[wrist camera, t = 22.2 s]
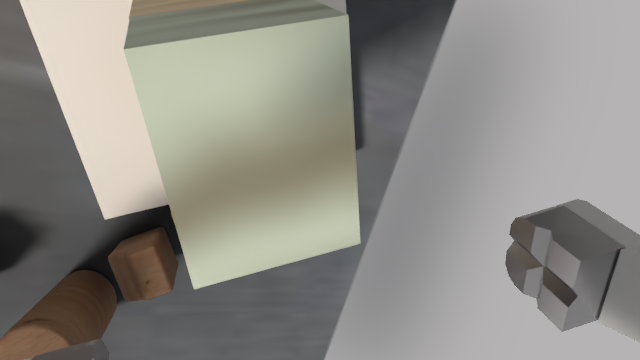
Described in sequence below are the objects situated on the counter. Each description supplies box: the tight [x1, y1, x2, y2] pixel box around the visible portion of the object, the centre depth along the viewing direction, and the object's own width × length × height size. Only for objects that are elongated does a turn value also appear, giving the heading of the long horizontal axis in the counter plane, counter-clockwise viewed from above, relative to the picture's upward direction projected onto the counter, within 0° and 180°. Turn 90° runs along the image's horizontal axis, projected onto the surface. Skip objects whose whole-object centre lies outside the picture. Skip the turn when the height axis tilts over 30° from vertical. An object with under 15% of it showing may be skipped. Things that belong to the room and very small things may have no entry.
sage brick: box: [124, 0, 360, 289], centre depth 16 cm, size 8×6×5 cm
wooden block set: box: [0, 213, 178, 360], centre depth 27 cm, size 18×9×10 cm, turn 102°
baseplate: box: [20, 0, 347, 219], centre depth 27 cm, size 18×17×1 cm
